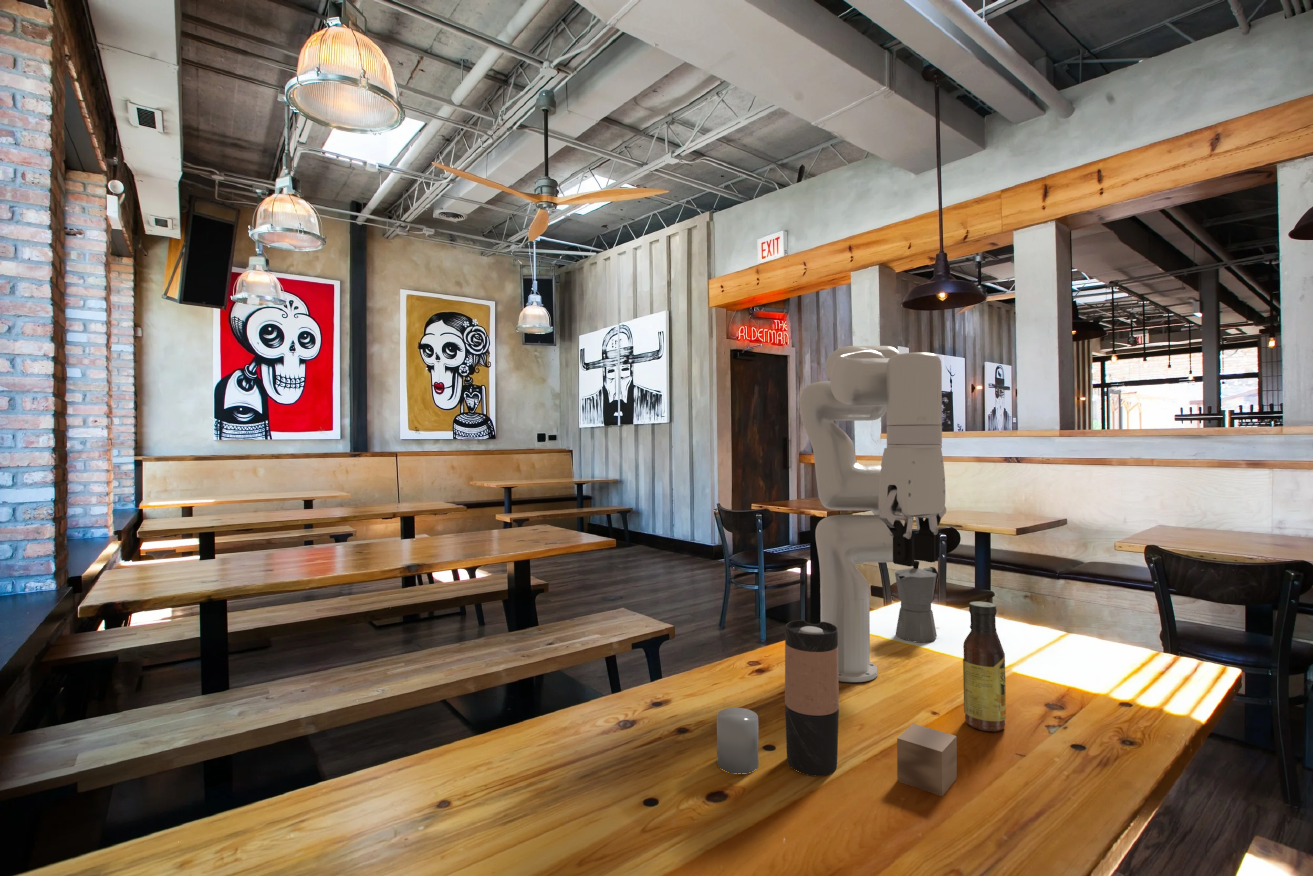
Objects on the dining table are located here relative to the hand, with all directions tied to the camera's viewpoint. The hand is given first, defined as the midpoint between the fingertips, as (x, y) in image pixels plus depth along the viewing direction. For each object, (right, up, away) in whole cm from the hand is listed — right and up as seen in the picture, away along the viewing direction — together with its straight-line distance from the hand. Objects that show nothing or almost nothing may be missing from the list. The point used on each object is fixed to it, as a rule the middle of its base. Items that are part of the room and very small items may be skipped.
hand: (914, 561), depth 95 cm
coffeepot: (+25, -29, +59) cm, 71 cm away
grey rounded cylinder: (-26, -30, 0) cm, 39 cm away
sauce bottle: (+16, -29, +12) cm, 36 cm away
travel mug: (-15, -30, 0) cm, 33 cm away
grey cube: (0, -30, -5) cm, 30 cm away
